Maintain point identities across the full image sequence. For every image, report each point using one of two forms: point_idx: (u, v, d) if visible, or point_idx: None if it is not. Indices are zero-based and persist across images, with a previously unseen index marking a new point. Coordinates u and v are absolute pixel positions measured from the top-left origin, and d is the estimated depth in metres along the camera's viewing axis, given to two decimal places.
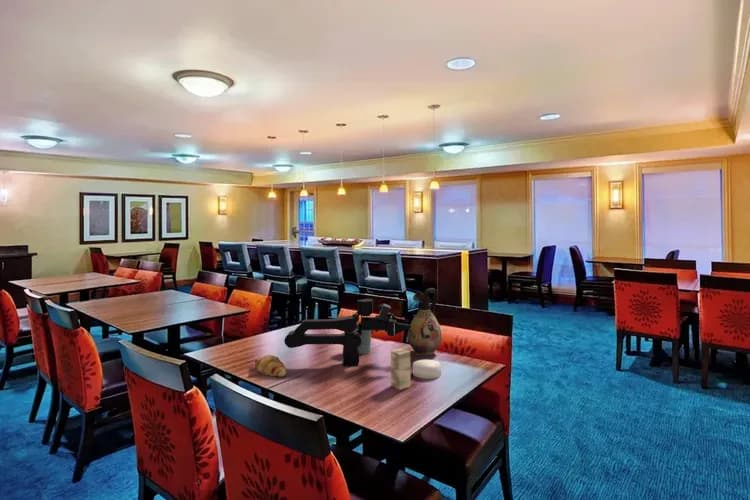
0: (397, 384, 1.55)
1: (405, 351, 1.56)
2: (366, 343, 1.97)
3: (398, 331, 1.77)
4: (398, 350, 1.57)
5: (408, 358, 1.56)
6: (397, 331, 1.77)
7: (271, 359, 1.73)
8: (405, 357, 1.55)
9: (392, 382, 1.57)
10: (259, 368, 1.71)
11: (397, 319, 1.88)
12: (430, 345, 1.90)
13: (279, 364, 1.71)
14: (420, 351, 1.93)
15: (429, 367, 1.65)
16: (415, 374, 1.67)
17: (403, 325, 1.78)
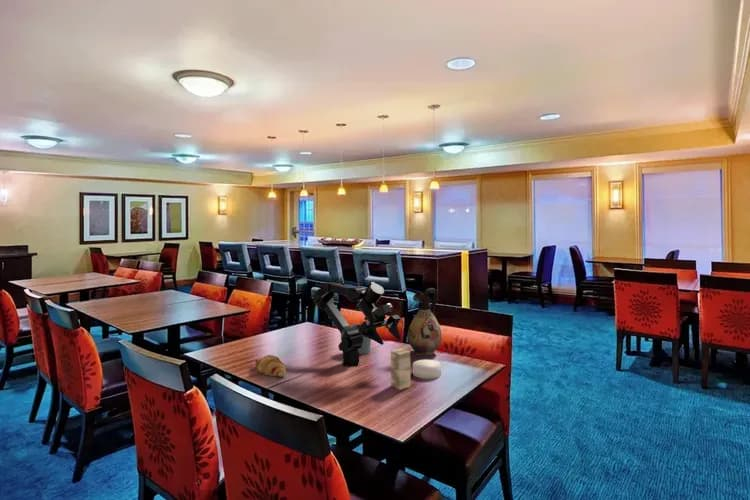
0: (397, 384, 1.55)
1: (405, 351, 1.56)
2: (366, 343, 1.97)
3: (370, 336, 1.64)
4: (398, 350, 1.57)
5: (408, 358, 1.56)
6: (369, 336, 1.64)
7: (271, 359, 1.74)
8: (405, 357, 1.55)
9: (392, 382, 1.57)
10: (259, 368, 1.71)
11: (394, 328, 1.70)
12: (430, 345, 1.90)
13: (279, 364, 1.71)
14: (420, 351, 1.93)
15: (429, 367, 1.65)
16: (415, 374, 1.67)
17: (377, 337, 1.62)
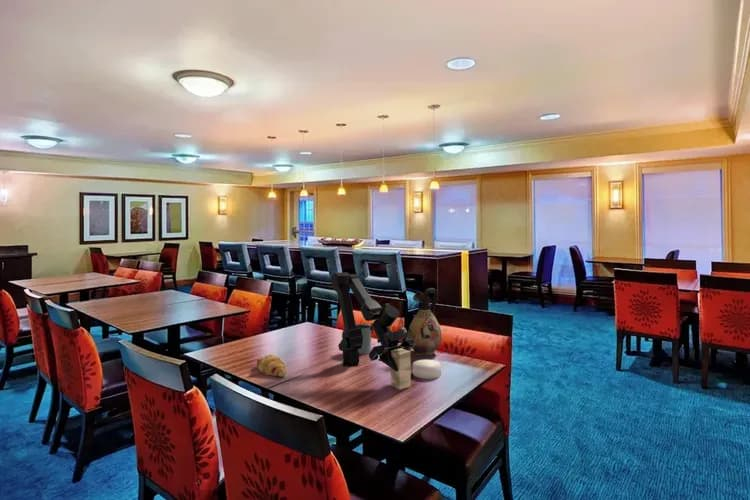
0: (397, 384, 1.55)
1: (405, 351, 1.56)
2: (366, 343, 1.97)
3: (384, 361, 1.57)
4: (398, 350, 1.57)
5: (408, 358, 1.56)
6: (384, 360, 1.57)
7: (272, 359, 1.74)
8: (405, 356, 1.55)
9: (392, 382, 1.57)
10: (260, 368, 1.71)
11: None
12: (430, 345, 1.90)
13: (280, 364, 1.71)
14: (420, 351, 1.93)
15: (429, 367, 1.65)
16: (415, 374, 1.67)
17: (391, 363, 1.55)
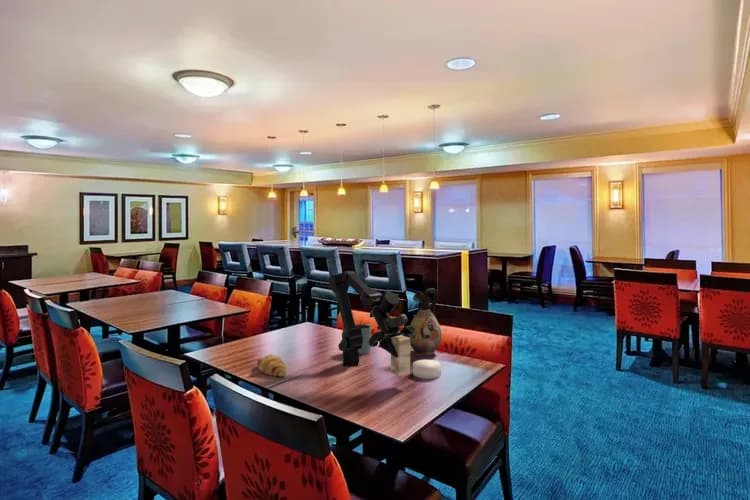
0: (396, 371, 1.55)
1: (405, 338, 1.56)
2: (366, 343, 1.97)
3: (384, 348, 1.57)
4: (398, 337, 1.57)
5: (408, 345, 1.55)
6: (384, 347, 1.57)
7: (272, 359, 1.74)
8: (405, 343, 1.55)
9: (392, 368, 1.57)
10: (260, 367, 1.71)
11: None
12: (430, 345, 1.90)
13: (280, 364, 1.71)
14: (420, 351, 1.93)
15: (429, 367, 1.65)
16: (415, 374, 1.67)
17: (391, 349, 1.55)
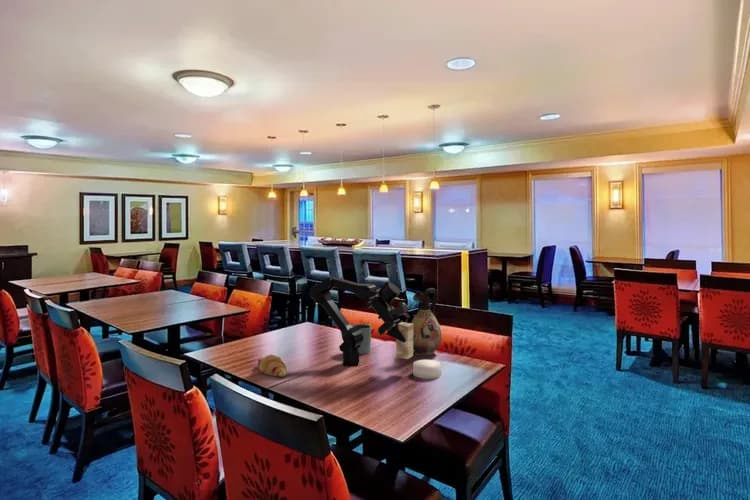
0: (403, 355, 1.68)
1: (409, 323, 1.70)
2: (366, 343, 1.97)
3: (391, 335, 1.68)
4: (402, 324, 1.70)
5: (412, 330, 1.70)
6: (391, 334, 1.68)
7: (273, 359, 1.74)
8: (411, 328, 1.69)
9: (397, 353, 1.69)
10: (260, 368, 1.71)
11: None
12: (430, 345, 1.90)
13: (280, 364, 1.71)
14: (420, 351, 1.93)
15: (429, 367, 1.65)
16: (415, 374, 1.67)
17: (399, 335, 1.67)
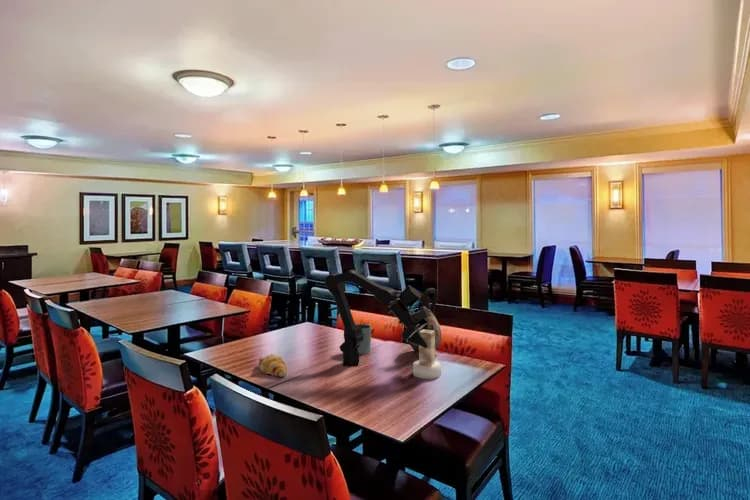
0: (427, 362, 1.67)
1: (431, 331, 1.69)
2: (366, 343, 1.97)
3: (413, 340, 1.64)
4: (424, 331, 1.69)
5: (434, 337, 1.70)
6: (412, 339, 1.65)
7: (273, 359, 1.74)
8: (433, 335, 1.68)
9: (421, 361, 1.68)
10: (261, 367, 1.71)
11: None
12: None
13: (280, 364, 1.71)
14: None
15: (429, 367, 1.65)
16: (415, 374, 1.67)
17: (421, 340, 1.64)
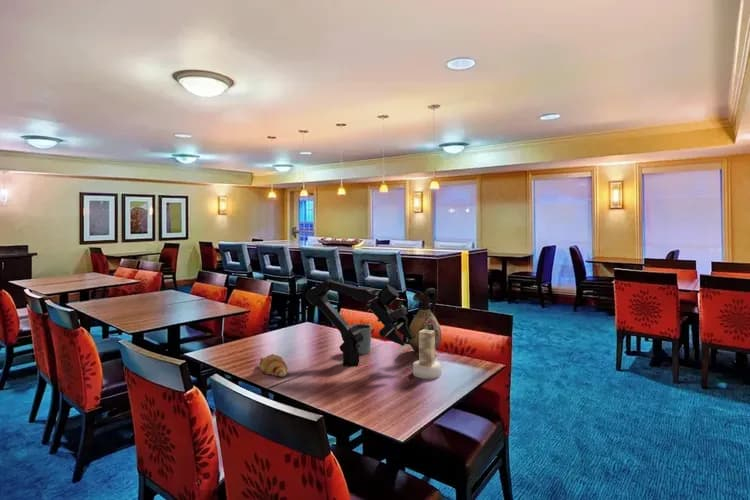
0: (427, 362, 1.67)
1: (431, 331, 1.69)
2: (366, 343, 1.97)
3: (390, 338, 1.68)
4: (424, 331, 1.69)
5: (434, 337, 1.70)
6: (389, 337, 1.68)
7: (274, 359, 1.74)
8: (433, 335, 1.68)
9: (421, 361, 1.68)
10: (261, 367, 1.72)
11: (405, 329, 1.77)
12: None
13: (281, 364, 1.71)
14: None
15: (429, 367, 1.65)
16: (415, 374, 1.67)
17: (398, 338, 1.68)
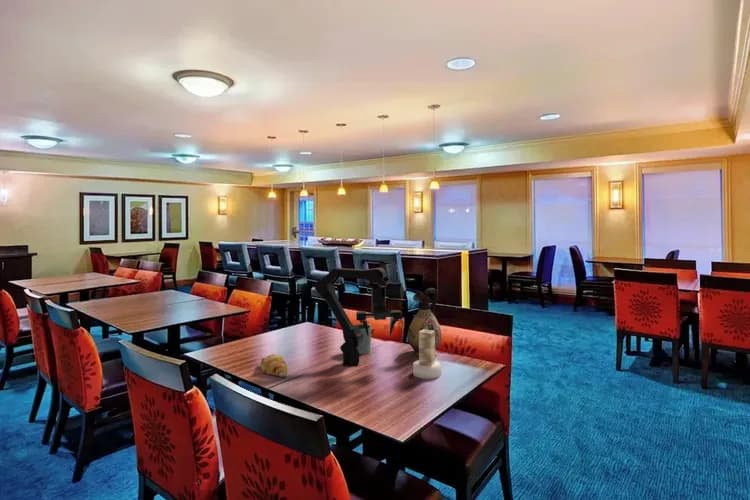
0: (427, 362, 1.67)
1: (431, 331, 1.69)
2: (366, 343, 1.97)
3: None
4: (424, 331, 1.69)
5: (434, 337, 1.70)
6: None
7: (274, 358, 1.74)
8: (433, 335, 1.68)
9: (421, 361, 1.68)
10: (262, 367, 1.72)
11: (390, 324, 1.78)
12: None
13: (281, 364, 1.71)
14: None
15: (429, 367, 1.65)
16: (415, 374, 1.67)
17: (365, 329, 1.77)
